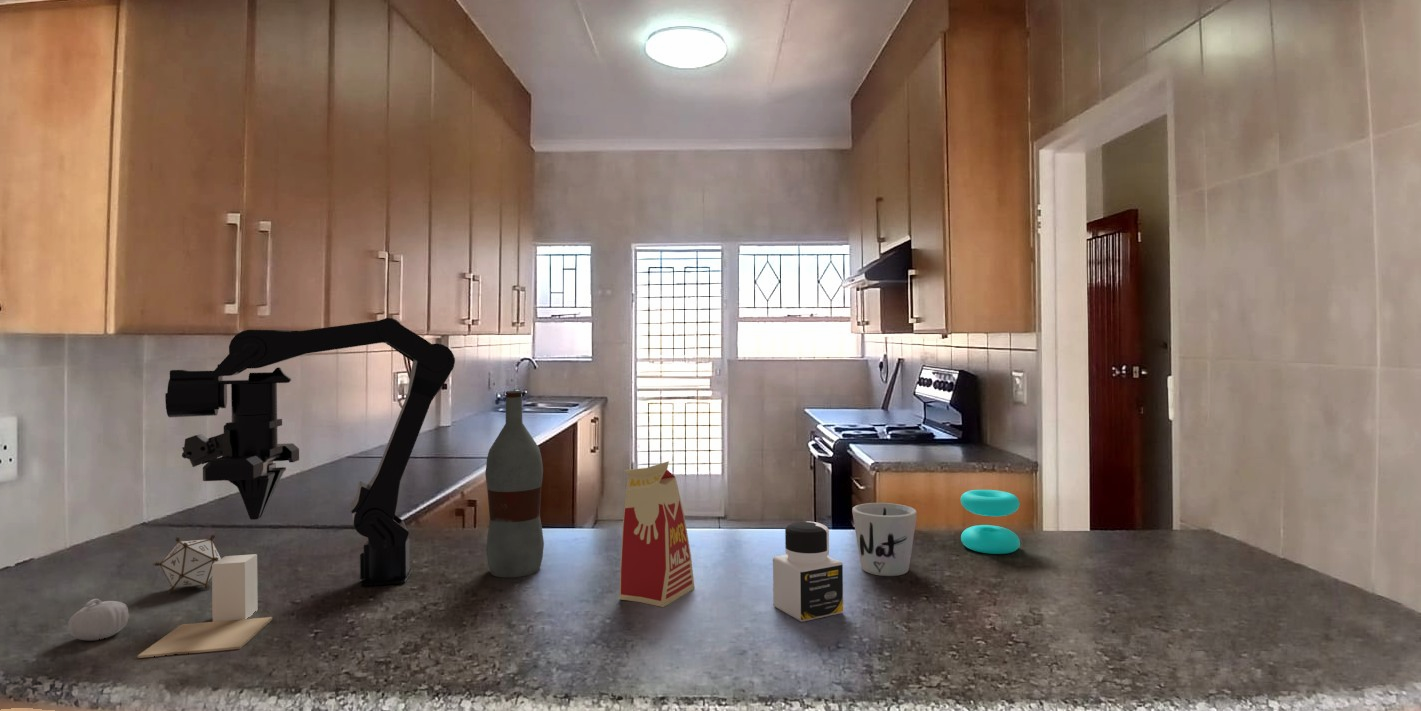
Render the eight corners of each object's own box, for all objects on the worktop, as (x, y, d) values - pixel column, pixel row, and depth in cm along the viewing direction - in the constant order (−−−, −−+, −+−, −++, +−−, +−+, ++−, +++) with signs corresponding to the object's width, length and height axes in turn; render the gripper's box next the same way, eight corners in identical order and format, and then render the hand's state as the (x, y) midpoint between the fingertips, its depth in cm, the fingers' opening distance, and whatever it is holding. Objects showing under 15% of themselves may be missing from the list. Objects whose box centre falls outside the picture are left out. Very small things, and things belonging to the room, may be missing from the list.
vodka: (541, 559, 123) (540, 389, 123) (546, 575, 114) (544, 391, 114) (485, 565, 120) (484, 390, 120) (486, 581, 111) (484, 393, 111)
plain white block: (257, 609, 100) (257, 554, 100) (245, 620, 96) (245, 562, 96) (226, 612, 99) (225, 555, 99) (212, 623, 95) (211, 564, 95)
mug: (847, 575, 112) (846, 513, 112) (863, 550, 126) (862, 495, 126) (914, 582, 109) (913, 518, 109) (923, 556, 122) (922, 499, 122)
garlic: (78, 650, 86) (77, 608, 86) (62, 641, 89) (62, 600, 89) (137, 633, 92) (137, 594, 92) (121, 625, 94) (120, 587, 94)
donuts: (1012, 501, 120) (953, 495, 126) (1012, 559, 120) (954, 550, 126) (1024, 491, 128) (969, 486, 134) (1025, 546, 128) (969, 538, 134)
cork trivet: (272, 619, 96) (272, 616, 96) (240, 648, 86) (240, 646, 86) (181, 626, 94) (181, 624, 94) (137, 658, 84) (137, 655, 84)
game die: (194, 615, 108) (177, 575, 102) (152, 592, 109) (133, 552, 104) (245, 572, 115) (232, 533, 109) (205, 551, 117) (190, 511, 111)
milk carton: (694, 587, 107) (693, 457, 107) (665, 608, 99) (664, 466, 99) (643, 580, 111) (641, 454, 111) (611, 599, 103) (610, 463, 103)
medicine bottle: (801, 623, 93) (800, 533, 93) (772, 606, 99) (771, 521, 99) (844, 613, 96) (843, 526, 96) (813, 597, 102) (812, 516, 102)
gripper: (222, 410, 111) (224, 508, 111) (157, 421, 93) (159, 538, 93) (299, 408, 114) (301, 504, 114) (251, 419, 96) (252, 532, 96)
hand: (255, 518), depth 104 cm, fingers closed
